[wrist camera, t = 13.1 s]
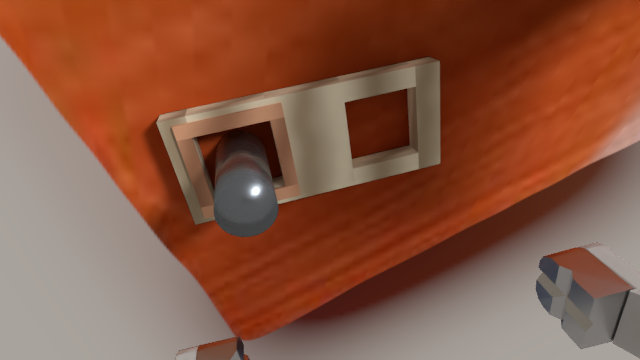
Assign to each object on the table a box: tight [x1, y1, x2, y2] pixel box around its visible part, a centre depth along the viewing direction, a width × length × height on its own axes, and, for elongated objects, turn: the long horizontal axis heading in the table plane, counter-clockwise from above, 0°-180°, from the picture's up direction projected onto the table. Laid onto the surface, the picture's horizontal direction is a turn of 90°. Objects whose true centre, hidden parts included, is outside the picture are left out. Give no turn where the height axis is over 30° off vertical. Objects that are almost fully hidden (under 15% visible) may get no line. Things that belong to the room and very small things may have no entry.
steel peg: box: [214, 130, 278, 237], centre depth 31 cm, size 4×4×10 cm
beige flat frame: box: [156, 57, 440, 225], centre depth 35 cm, size 24×10×2 cm, turn 100°
